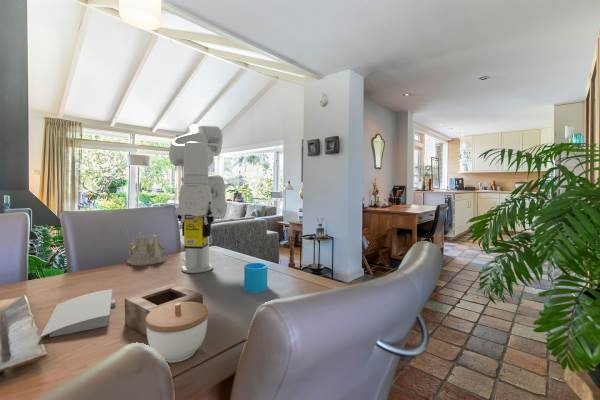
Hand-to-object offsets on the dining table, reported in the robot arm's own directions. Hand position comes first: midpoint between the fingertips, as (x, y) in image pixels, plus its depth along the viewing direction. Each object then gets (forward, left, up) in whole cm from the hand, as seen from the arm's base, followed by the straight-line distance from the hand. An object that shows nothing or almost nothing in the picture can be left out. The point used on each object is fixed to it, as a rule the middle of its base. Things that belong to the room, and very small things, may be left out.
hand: (196, 235), depth 96 cm
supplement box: (0, 0, -4) cm, 4 cm away
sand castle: (-56, +12, -21) cm, 61 cm away
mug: (+8, +18, -20) cm, 29 cm away
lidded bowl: (+24, -22, -20) cm, 39 cm away
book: (-12, -27, -21) cm, 36 cm away
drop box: (+8, -16, -20) cm, 27 cm away
